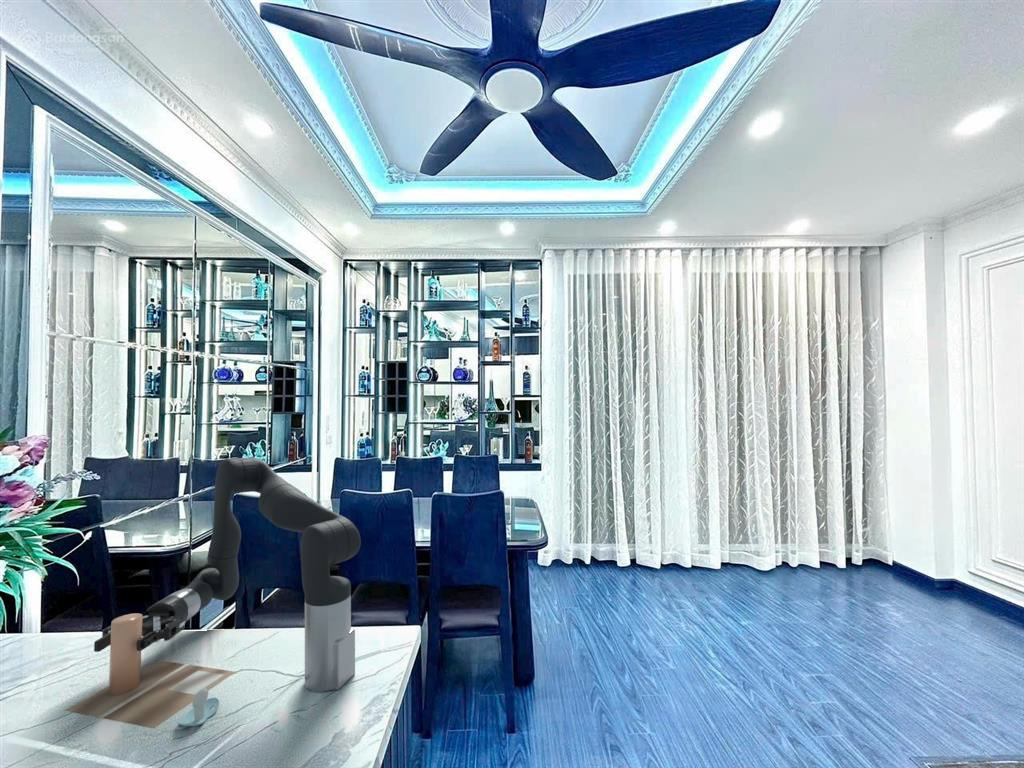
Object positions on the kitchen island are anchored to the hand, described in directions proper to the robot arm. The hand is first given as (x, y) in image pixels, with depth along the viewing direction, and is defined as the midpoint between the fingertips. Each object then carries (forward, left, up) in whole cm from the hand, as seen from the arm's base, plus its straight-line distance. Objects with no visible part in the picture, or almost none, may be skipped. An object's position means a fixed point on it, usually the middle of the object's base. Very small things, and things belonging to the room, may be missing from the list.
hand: (117, 646), depth 95 cm
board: (-7, -3, -10) cm, 12 cm away
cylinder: (0, -2, -9) cm, 10 cm away
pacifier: (-22, +2, -10) cm, 25 cm away
